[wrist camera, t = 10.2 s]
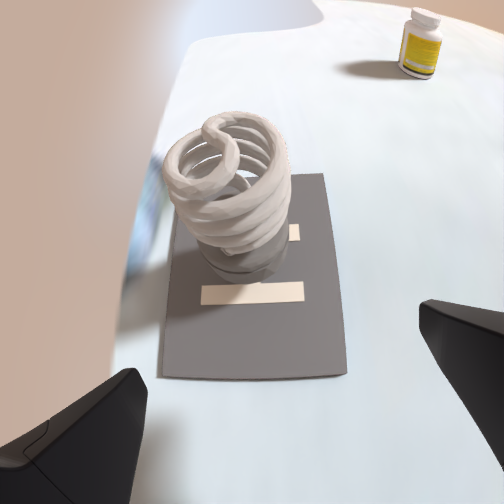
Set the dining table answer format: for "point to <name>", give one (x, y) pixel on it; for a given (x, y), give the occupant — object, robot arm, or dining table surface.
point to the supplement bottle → (420, 44)
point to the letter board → (260, 304)
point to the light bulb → (233, 194)
